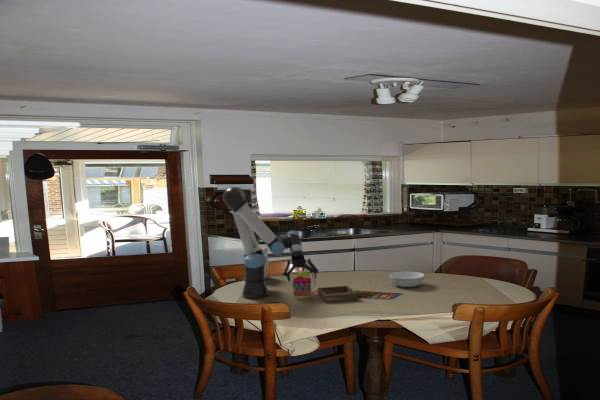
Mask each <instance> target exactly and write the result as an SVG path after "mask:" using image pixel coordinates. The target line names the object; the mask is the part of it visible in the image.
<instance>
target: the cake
mask: <svg viewBox="0 0 600 400" xmlns="http://www.w3.org/2000/svg"><path fill="white" fill-rule="evenodd" d="M292 283H293V285H292V287H293V292H292V293H293V299H295V300H298V301H306V300H310V299H311V298H312V287H311V285H312V279H311V277H310V272H309V271H308V270H304V272H302V273H301V272H299V273H297V274H296V276H295V277H294V278H293V279H292Z"/></svg>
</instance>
